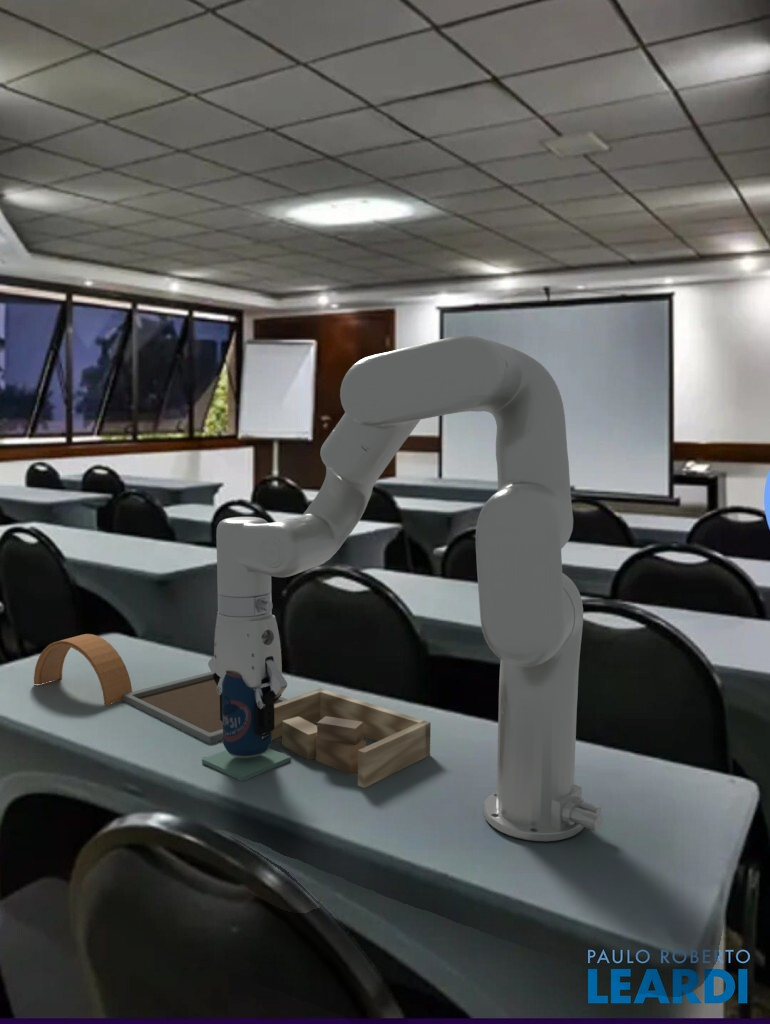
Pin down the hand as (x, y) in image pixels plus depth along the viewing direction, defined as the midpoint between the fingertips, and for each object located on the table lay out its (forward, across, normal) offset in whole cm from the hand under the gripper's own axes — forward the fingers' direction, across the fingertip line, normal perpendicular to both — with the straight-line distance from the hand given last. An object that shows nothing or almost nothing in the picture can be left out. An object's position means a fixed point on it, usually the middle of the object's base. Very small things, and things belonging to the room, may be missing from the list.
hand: (246, 724), depth 119 cm
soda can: (+4, 0, 0) cm, 4 cm away
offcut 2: (+6, -10, -8) cm, 15 cm away
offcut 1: (+6, -3, -8) cm, 11 cm away
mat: (+6, 0, 0) cm, 6 cm away
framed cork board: (+6, +21, -11) cm, 25 cm away
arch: (+6, +47, 0) cm, 47 cm away
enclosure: (+6, -7, -13) cm, 16 cm away
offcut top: (+2, -10, -8) cm, 14 cm away
